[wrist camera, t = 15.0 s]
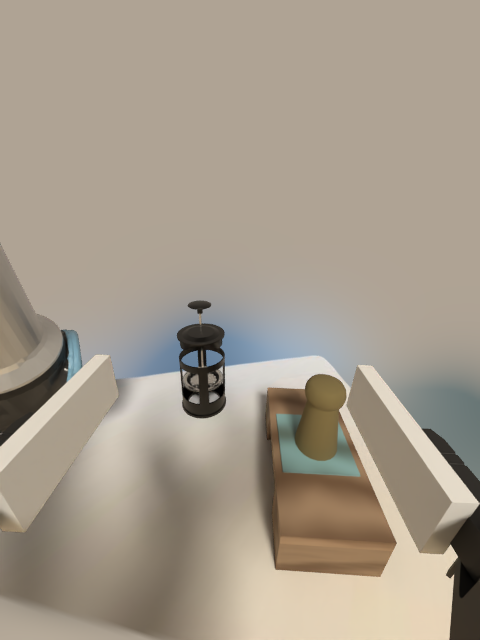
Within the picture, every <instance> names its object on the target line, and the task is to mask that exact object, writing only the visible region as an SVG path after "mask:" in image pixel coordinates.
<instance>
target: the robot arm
mask: <svg viewBox="0 0 480 640" xmlns="http://www.w3.org/2000/svg"><path fill="white" fill-rule="evenodd" d="M118 396H119V393H118V389H117V384H116V380H115V376H114V371H113V367H112V362H111V358H110V355H95V356H94V357H93V358H92V359H91V360H90V361H88V362H87V363H86V364H85V365H84V366H83V367H82V360H81V353H80V345H79V338H78V334H77V332H76V331H74V330H60V329H59V327H58V326H57V325H56V324H55V323H54V322H53V321H52V320H50V319H48V318H47V317H44V316H42V315H39V314H36V313H35V311H34V309H33V307H32V305H31V303H30V302H29V299H28V297H27V295H26V293H25V291H24V289H23V287H22V285H21V284H20V282H19V280H18V278H17V276H16V274H15V272H14V270H13V268H12V266H11V264H10V262H9V260H8V258H7V256H6V254H5V252H4V250H3V248H2V246H1V244H0V433H2V432H3V434H2V435H0V528H1V530H2V531H9V532H26V530H27V529H28V527H29V526H30V524H31V523H32V521H33V520H34V519H35V517H36V516H37V514H38V513H39V511H40V510H41V508H42V507H43V505H44V504H45V503H46V501H47V500H48V498H49V497H50V495H51V494H52V492H53V491H54V489H55V488H56V487H57V485H58V484H59V482H60V481H61V479H62V478H63V476H64V475H65V473H66V472H67V470H68V469H69V468H70V466H71V465H72V463H73V462H74V460H75V459H76V457H77V456H78V454H79V453H80V452H81V450H82V449H83V447H84V446H85V444H86V443H87V441H88V440H89V438H90V437H91V436H92V434H93V433H94V431H95V430H96V428H97V427H98V425H99V424H100V422H101V421H102V419H103V418H104V417H105V415H106V414H107V412H108V411H109V409H110V408H111V406H112V405H113V403H114V402H115V401H116V399H117V398H118ZM347 407H348V409H349V411H350V413H351V415H352V418H353V420H354V422H355V424H356V426H357V428H358V430H359V432H360V434H361V436H362V438H363V440H364V442H365V444H366V446H367V448H368V450H369V452H370V454H371V456H372V458H373V460H374V462H375V464H376V466H377V468H378V470H379V472H380V474H381V476H382V478H383V480H384V482H385V484H386V486H387V488H388V490H389V492H390V494H391V496H392V498H393V500H394V502H395V504H396V506H397V508H398V510H399V512H400V514H401V516H402V518H403V520H404V522H405V524H406V526H407V528H408V530H409V532H410V534H411V536H412V538H413V540H414V542H415V544H416V546H417V548H418V550H419V552H420V553H430V554H444V553H445V551H446V550H447V548H448V547H449V546H450V544H451V545H452V547H453V549H454V550H455V552H456V554H457V555H458V558H457V559H456V561H455V562H454V563H453V564H452V566H451V567H450V568H449V570H448V572H447V574H446V576H448V577H449V578H451V577H452V576H453V575H454V586H453V600H452V613H451V626H450V640H480V481H479V480H478V479H477V478H476V476H475V475H474V474H473V473H472V472H471V471H470V469H469V468H468V467H467V466H465V465H464V462H463V461H462V460H461V459H460V458H459V456H458V455H456V454H455V452H454V450H453V449H452V448H451V447H450V446H449V445H448V443H447V442H446V441H445V440H444V439H443V438H442V437H440V436H439V435H438V434H436V433H435V432H434V431H432V430H431V429H421V428H420V427H419V425H418V424H417V423H416V422H415V420H414V419H413V418H412V416H411V415H410V414H409V413H408V411H407V410H406V409H405V407H404V406H403V405H402V404H401V402H400V401H399V400H398V398H397V397H396V396H395V395H394V393H393V392H392V391H391V390H390V388H389V387H388V386H387V384H386V383H385V382H384V380H383V379H382V378H381V377H380V375H379V374H378V373H377V372H376V370H375V369H374V368H373V366H366V365H357V369H356V372H355V376H354V379H353V383H352V387H351V390H350V394H349V398H348V401H347Z"/></svg>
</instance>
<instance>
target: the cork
mask: <svg viewBox="0 0 480 640" xmlns="http://www.w3.org/2000/svg"><path fill="white" fill-rule="evenodd" d="M305 396H306V399H307V402H306V405H305V408H304V410H303V413H302V416H301V419H300V422H299V425H298V428H297V431H296V434H295V443H296V446H297V447H298V449H299V450H300V451H301V452H302V453H303V454H304V455H305V456H307V457H309V458H310V459H313V460H317V461H326V460H330V459H331V458H333V457H334V456H335V454H336V452H337V439H338V419H339V409H340V408H341V407H342V406H343V404H344V403H345V401H346V389H345V387H344V385H343V383H342V382H341V381H340V380H338V379H337V378H335V377H332V376H330V375H325V374H318V375H314V376H312V377H311V378H310V379H309V380H308V381H307V383H306V386H305Z"/></svg>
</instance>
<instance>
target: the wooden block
mask: <svg viewBox="0 0 480 640" xmlns="http://www.w3.org/2000/svg"><path fill="white" fill-rule="evenodd" d="M306 402H307V399H306V396H305V389H286V388H268V391H267V403H266V430H267V440H271V446H272V458H273V470H274V482H275V490H274V499H273V507H272V522H273V537H274V552H275V568H276V570H290V571H304V572H319V573H333V574H347V575H362V576H376V577H380V576H381V574H382V572H383V570H384V568H385V566H386V564H387V562H388V560H389V558H390V556H391V554H392V552H393V550H394V548H395V546H396V544H397V543H396V541H395V538H394V536H393V534H392V531H391V529H390V527H389V525H388V522H387V520H386V518H385V515H384V513H383V511H382V508H381V506H380V504H379V502H378V499H377V497H376V495H375V492H374V490H373V488H372V486H371V483H370V481H369V479H368V476H367V474H366V472H365V469H364V467H363V465H362V463H361V460H360V458H359V456H358V453H357V451H356V449H355V446H354V444H353V442H352V440H351V437H350V435H349V433H348V430H347V428H346V426H345V424H344V421H343V419H342V417H341V414H340V412H339V419H338V439H337V452H336V454H335V456H334V457H333V458H331V459H330V460H326V461H317V460H313V459H310V458H309V457H307V456H305V455H304V454H303V453H302V452H301V451H300V450H299V449H298V447H297V446H296V443H295V434H296V431H297V428H298V425H299V422H300V419H301V416H302V413H303V410H304V408H305V405H306Z"/></svg>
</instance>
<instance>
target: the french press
mask: <svg viewBox="0 0 480 640" xmlns="http://www.w3.org/2000/svg"><path fill="white" fill-rule="evenodd" d="M210 306H211V303H209V302H207V301H194V302H191V303H189V304H188V307H190V308H191V309H197V312H198V314H199V323H200V324H194V325H189V326H186V327H184V328H182V329H181V330H180V331H179V332H178V333H177V338H178V340H179V341H180V346H181V348H182V349H183V351H182V352H181V353H180V356H179V362H180V372H181V383H182V394H183V402H182V405H183V409H184V411H185V412H186V413H187V414H188V415H190V416H192V417H195V418H209V417H212V416H215V415H217V414H218V413H220V412H221V411H222V410H223V408H224V407H225V404H226V397H225V360H224V359H225V354H224V352H223V350H222V349H221V348H220V346H221V345H222V339H223V337H224V330H223V329H222V328H220V327H218V326H216V325H213V324H202V323H201V314H202V309H206V308H209V307H210ZM197 350H198V363H199V367H191V366H188V365H185V364H184V363H183V362H182V361H181V359H182V358H183V356H185V355H186V354H188V353H190V352H193V351H197ZM206 350H212V351H215V352H218V353H220V354H221V355H222V356H223V359H222V360H221V361H220V362H219V363H217V364H215V365H212V366H209V367H207V366H206ZM222 366H223V374H222V372H221V371H219V370H218V369H219V368H221V367H222ZM182 369H183V370H185V371H187V373H186V374H185V375H184V377H183V375H182ZM222 382H223V383H222ZM183 384H184V386H183ZM211 391H212V392H215V393H216V394H217V395H218V396H219V397H220V398H219V399H218V400H216V401H214V402H212V403H209V392H211ZM195 393H199V394H200V404H195V403H192V402H190V401H189V399H190V397H191V396H192V395H193V394H195Z"/></svg>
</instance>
